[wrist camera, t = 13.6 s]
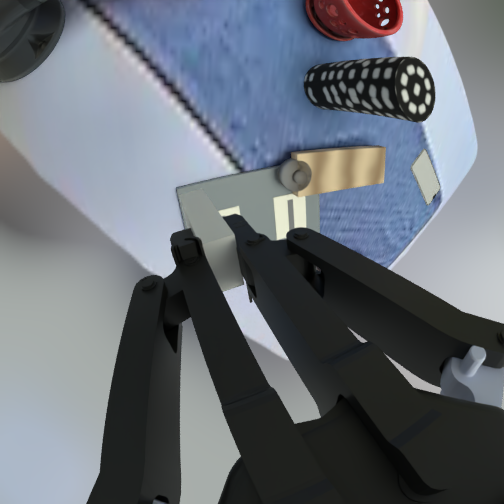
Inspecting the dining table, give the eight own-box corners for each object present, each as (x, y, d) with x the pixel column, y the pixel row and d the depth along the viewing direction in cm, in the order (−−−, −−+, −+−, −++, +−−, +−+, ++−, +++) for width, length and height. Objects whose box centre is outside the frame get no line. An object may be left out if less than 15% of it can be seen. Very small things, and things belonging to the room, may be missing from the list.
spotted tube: (337, 115, 45) (427, 132, 28) (298, 99, 41) (388, 104, 25) (348, 76, 41) (439, 78, 25) (310, 57, 38) (401, 44, 21)
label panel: (175, 184, 41) (176, 188, 39) (314, 156, 47) (321, 158, 45) (199, 283, 51) (201, 290, 49) (316, 248, 56) (322, 252, 55)
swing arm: (278, 196, 45) (287, 202, 43) (276, 154, 42) (285, 157, 39) (376, 179, 51) (387, 184, 48) (378, 145, 47) (390, 148, 45)
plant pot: (367, 19, 36) (414, 11, 27) (336, 57, 39) (384, 51, 29) (321, -28, 29) (363, -48, 20) (282, 7, 32) (323, -15, 22)
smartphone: (425, 147, 55) (441, 187, 63) (423, 146, 55) (439, 187, 64) (410, 167, 56) (427, 207, 64) (408, 166, 56) (425, 206, 65)
